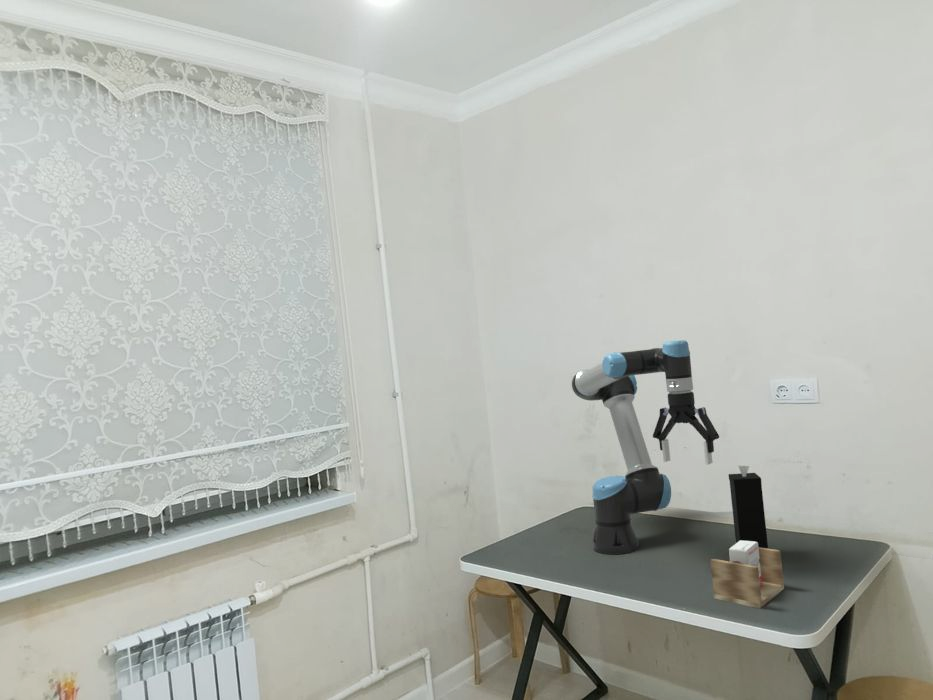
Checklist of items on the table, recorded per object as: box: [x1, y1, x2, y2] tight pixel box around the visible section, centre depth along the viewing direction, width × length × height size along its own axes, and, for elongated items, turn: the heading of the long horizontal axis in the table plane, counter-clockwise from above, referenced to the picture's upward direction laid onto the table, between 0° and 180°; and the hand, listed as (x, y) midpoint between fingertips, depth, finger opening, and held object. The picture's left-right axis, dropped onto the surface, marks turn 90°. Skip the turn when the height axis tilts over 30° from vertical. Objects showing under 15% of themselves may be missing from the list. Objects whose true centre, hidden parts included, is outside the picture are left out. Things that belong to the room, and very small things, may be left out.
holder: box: [709, 547, 785, 609], centre depth 171 cm, size 12×15×10 cm
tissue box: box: [728, 465, 769, 549], centre depth 198 cm, size 8×8×28 cm
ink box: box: [728, 540, 762, 586], centre depth 171 cm, size 8×5×12 cm, turn 137°
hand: (687, 462), depth 193 cm, fingers open, 13 cm apart
